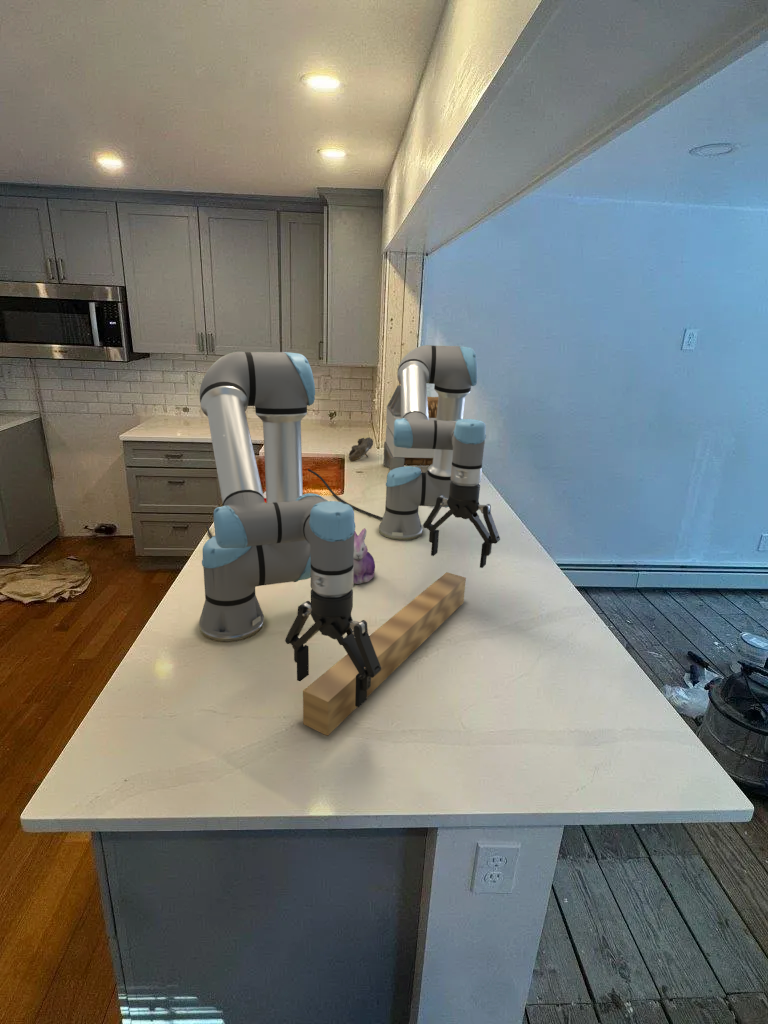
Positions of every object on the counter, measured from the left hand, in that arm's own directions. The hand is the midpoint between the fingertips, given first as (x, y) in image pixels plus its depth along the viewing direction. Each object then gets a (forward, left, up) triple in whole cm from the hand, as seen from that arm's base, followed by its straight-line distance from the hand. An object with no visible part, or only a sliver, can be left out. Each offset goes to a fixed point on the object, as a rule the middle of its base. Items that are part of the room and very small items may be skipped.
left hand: (331, 689), depth 107 cm
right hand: (-16, +52, +7) cm, 55 cm away
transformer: (-115, +135, -6) cm, 178 cm away
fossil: (-154, +130, -6) cm, 202 cm away
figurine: (-43, +42, -6) cm, 61 cm away
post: (-8, +25, -6) cm, 27 cm away
